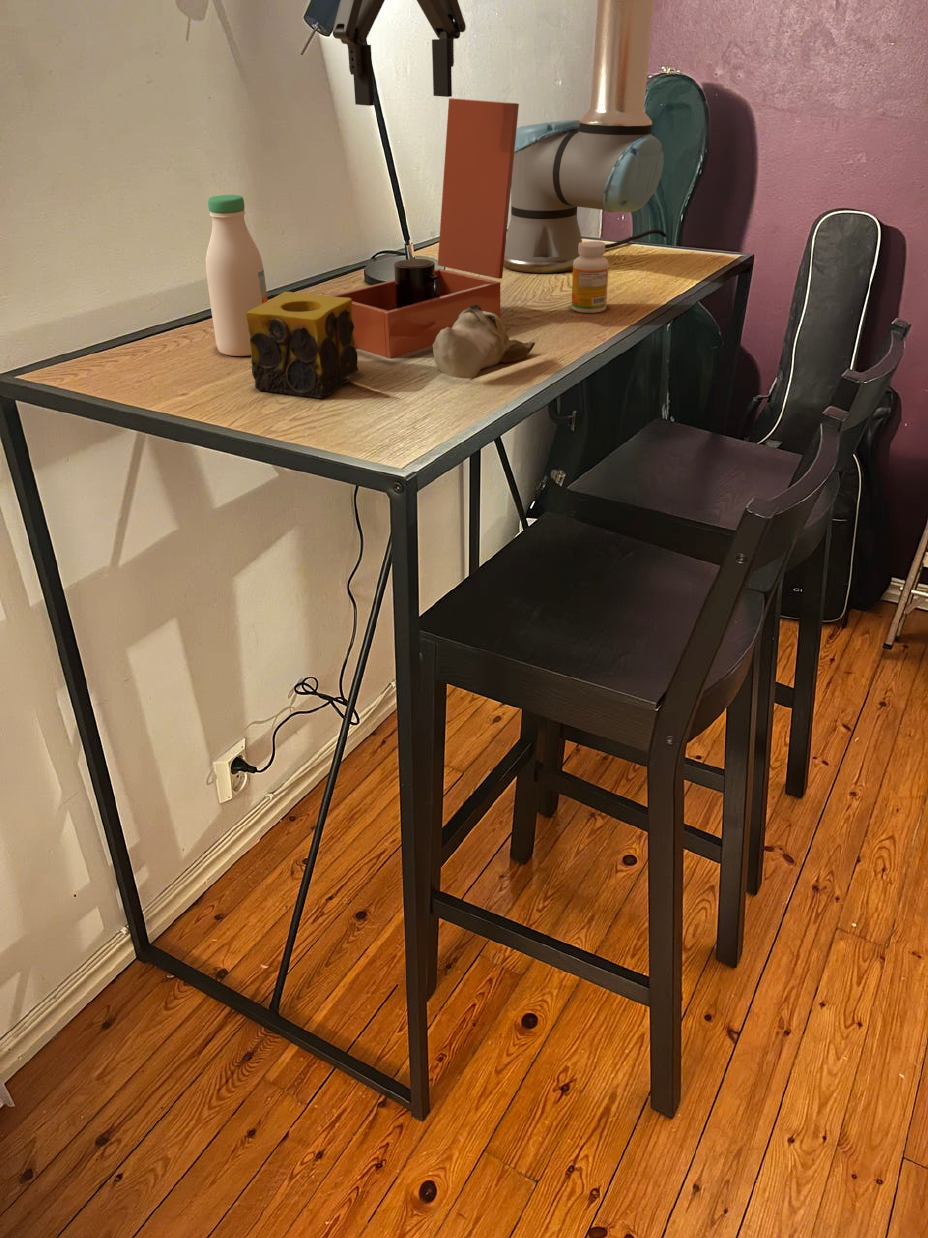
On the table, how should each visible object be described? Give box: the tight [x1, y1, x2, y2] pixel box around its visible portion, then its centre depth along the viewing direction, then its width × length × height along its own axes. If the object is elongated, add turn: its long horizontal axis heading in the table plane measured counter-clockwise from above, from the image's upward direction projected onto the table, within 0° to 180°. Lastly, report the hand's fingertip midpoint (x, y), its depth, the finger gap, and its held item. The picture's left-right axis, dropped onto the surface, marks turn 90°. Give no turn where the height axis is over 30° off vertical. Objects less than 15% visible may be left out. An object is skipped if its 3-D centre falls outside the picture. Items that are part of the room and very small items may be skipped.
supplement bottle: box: [571, 240, 610, 314], centre depth 155 cm, size 5×5×10 cm
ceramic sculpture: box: [432, 305, 536, 381], centre depth 131 cm, size 11×9×15 cm
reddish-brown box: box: [331, 268, 501, 360], centre depth 144 cm, size 22×13×7 cm, turn 135°
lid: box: [437, 97, 520, 280], centre depth 144 cm, size 22×13×1 cm
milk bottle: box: [205, 194, 269, 357], centre depth 137 cm, size 8×8×20 cm
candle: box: [246, 291, 359, 399], centre depth 127 cm, size 10×10×10 cm
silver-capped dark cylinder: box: [393, 258, 440, 309], centre depth 143 cm, size 8×6×10 cm
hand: (404, 100), depth 130 cm, fingers open, 13 cm apart
